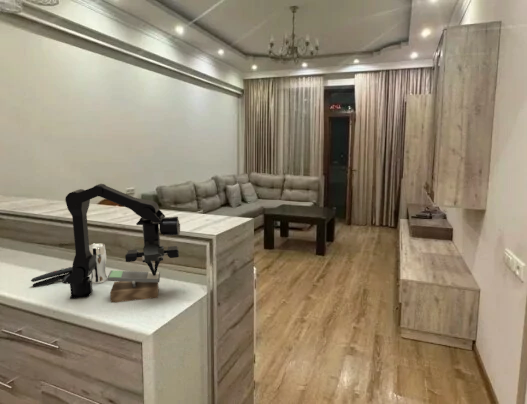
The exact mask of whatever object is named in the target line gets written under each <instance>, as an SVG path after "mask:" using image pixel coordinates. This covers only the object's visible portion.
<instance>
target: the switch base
mask: <svg viewBox="0 0 527 404" xmlns="http://www.w3.org/2000/svg"><path fill="white" fill-rule="evenodd" d="M158 297H159V282H135V284H133V283H132V282H124V281H113V285H112V287H111V290H110V303H118V302H121V303H122V302H128V301H136V300H138V301H139V300H148V299H157V298H158Z"/></svg>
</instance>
